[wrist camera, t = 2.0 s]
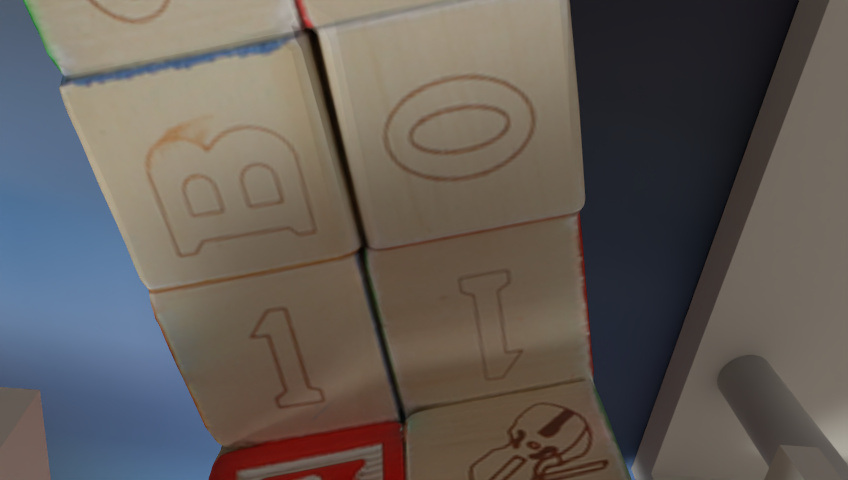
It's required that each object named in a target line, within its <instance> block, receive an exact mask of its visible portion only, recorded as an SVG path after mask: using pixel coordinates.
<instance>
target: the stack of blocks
mask: <svg viewBox="0 0 848 480" xmlns="http://www.w3.org/2000/svg"><path fill="white" fill-rule="evenodd" d="M23 1H24V4H25V6H26V8H27V10H28V12H29V15H30V17H31V19H32V21H33V23H34V25H35V27H36V29H37V31H38V33H39V35H40V37H41V39H42V42H43V44H44V47H45V49H46V52H47V54H48V55H49V57H50V58H51V59H52V61H53V62H54V64H55V65H56V66H57V68H58V69H59V70H60V72H61V73H62V75H63V77H62V81H61V85H60V92H61V95H62V98H63V101H64V104H65V107H66V110H67V113H68V115H69V117H70V119H71V121H72V123H73V125H74V128H75V130H76V132H77V134H78V136H79V138H80V141H81V143H82V145H83V148H84V150H85V153H86V155H87V157H88V160H89V162H90V165H91V167H92V169H93V172H94V174H95V176H96V179H97V181H98V184H99V186H100V188H101V190H102V193H103V195H104V197H105V199H106V201H107V204H108V206H109V208H110V210H111V212H112V215H113V217H114V219H115V221H116V223H117V226H118V228H119V230H120V232H121V235H122V237H123V239H124V241H125V244H126V246H127V249H128V251H129V253H130V256H131V258H132V261H133V263H134V266H135V268H136V270H137V273H138V275H139V277H140V279H141V281H142V282H143V284H144V285H145V286H146V287H147V288H148V289H149V294H150V301H151V305H152V308H153V311H154V315H155V319H156V320H157V322H158V324H159V326H160V328H161V330H162V333H163V335H164V338H165V340H166V342H167V344H168V347H169V349H170V351H171V353H172V356H173V358H174V360H175V362H176V365H177V367H178V369H179V371H180V373H181V375H182V377H183V379H184V381H185V383H186V385H187V388H188V390H189V392H190V394H191V396H192V398H193V401H194V403H195V405H196V407H197V409H198V412H199V414H200V416H201V418H202V420H203V423H204V425H205V427H206V428H207V430H208V431H209V432H210V433H211V435H212V436H213V437H214V439H215V440H216V441H217V442H218V443H219V444H221V445H222V448H221V451H220V453H219V454H218V456H217V458H216V460H215V462H214V464H213V467H212V470H211V473H210V476H209V480H631V477H630V474H629V472H628V469H627V467H626V464H625V461H624V459H623V456H622V454H621V451H620V448H619V446H618V443H617V440H616V438H615V435H614V432H613V430H612V427H611V424H610V422H609V419H608V416H607V414H606V411H605V408H604V406H603V403H602V401H601V399H600V396H599V394H598V392H597V389H596V387H595V385H594V382H593V375H594V367H593V358H592V347H591V335H590V323H589V312H588V301H587V290H586V278H585V265H584V252H583V241H582V231H581V221H580V211H581V209H582V208H583V206H584V204H585V187H584V172H583V157H582V141H581V126H580V111H579V99H578V88H577V77H576V66H575V55H574V45H573V34H572V23H571V12H570V1H569V0H23Z"/></svg>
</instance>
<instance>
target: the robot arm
mask: <svg viewBox="0 0 848 480" xmlns="http://www.w3.org/2000/svg"><path fill="white" fill-rule="evenodd" d="M0 480H51V479H50V471H49V463H48V454H47V446H46V438H45V429H44V421H43V413H42V405H41V396H40V390H32V389H19V388H5V387H0ZM764 480H843V479H842V478H841V476H840V475H839V474H838V473H837V471H836V470H835V469H834V467H833V466H832V465H831V463H830V462H829V461H828V460H827V458H826V457H825V456H824V454H823V453H822V452H821V450H820V449H819V448H817V447H803V446H790V445H779V448H778V450H777V452H776V454H775V456H774V459H773V461H772V463H771V465H770V467H769V470H768V472H767V474H766V476H765V478H764Z"/></svg>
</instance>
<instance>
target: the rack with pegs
mask: <svg viewBox="0 0 848 480" xmlns="http://www.w3.org/2000/svg"><path fill="white" fill-rule="evenodd" d="M779 445H790V446H803V447H817V448H819V449H820V450H821V452H822V453H823V454H824V456H825V457H826V458H827V460H828V461H829V462H830V463H831V465H832V466H833V467H834V469H835V470H836V471H837V473H838V474H839V475H840V476H841V478H842V479H843V480H848V0H799V3H798V6H797V8H796V11H795V14H794V17H793V19H792V22H791V25H790V28H789V31H788V33H787V36H786V39H785V42H784V45H783V47H782V50H781V53H780V56H779V59H778V61H777V64H776V67H775V70H774V72H773V75H772V78H771V81H770V84H769V86H768V89H767V92H766V95H765V98H764V100H763V103H762V106H761V109H760V112H759V114H758V117H757V120H756V123H755V125H754V128H753V131H752V134H751V137H750V139H749V142H748V145H747V148H746V151H745V153H744V156H743V159H742V162H741V165H740V167H739V170H738V173H737V176H736V178H735V181H734V184H733V187H732V190H731V192H730V195H729V198H728V201H727V204H726V206H725V209H724V212H723V215H722V218H721V220H720V223H719V226H718V229H717V231H716V234H715V237H714V240H713V243H712V245H711V248H710V251H709V254H708V257H707V259H706V262H705V265H704V268H703V271H702V273H701V276H700V279H699V282H698V284H697V287H696V290H695V293H694V296H693V298H692V301H691V304H690V307H689V310H688V312H687V315H686V318H685V321H684V323H683V326H682V329H681V332H680V335H679V337H678V340H677V343H676V346H675V349H674V351H673V354H672V357H671V360H670V363H669V365H668V368H667V371H666V374H665V376H664V379H663V382H662V385H661V388H660V390H659V393H658V396H657V399H656V402H655V404H654V407H653V410H652V413H651V416H650V418H649V421H648V424H647V427H646V429H645V432H644V435H643V438H642V441H641V443H640V446H639V449H638V452H637V455H636V457H635V460H634V463H633V466H632V472H633V474H634V477H635V479H636V480H764V478H765V476H766V474H767V472H768V470H769V467H770V465H771V463H772V461H773V459H774V456H775V454H776V452H777V450H778V448H779Z"/></svg>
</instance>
